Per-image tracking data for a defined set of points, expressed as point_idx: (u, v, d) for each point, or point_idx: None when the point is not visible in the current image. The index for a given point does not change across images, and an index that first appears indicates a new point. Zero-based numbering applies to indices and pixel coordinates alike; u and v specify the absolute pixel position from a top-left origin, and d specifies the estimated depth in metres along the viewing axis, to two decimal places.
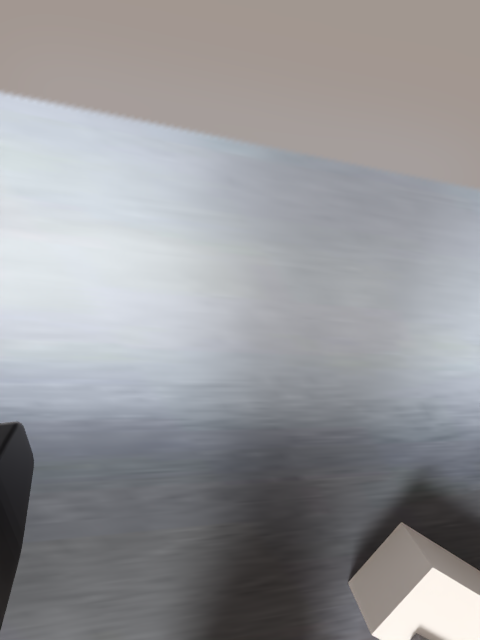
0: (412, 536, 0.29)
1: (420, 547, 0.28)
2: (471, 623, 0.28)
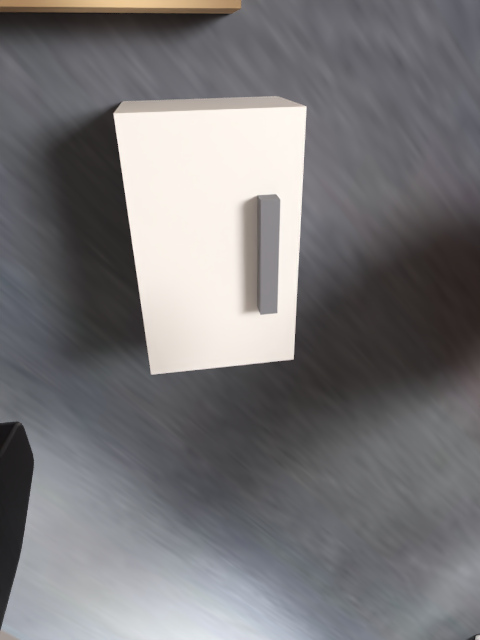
0: None
1: None
2: (189, 238, 0.15)
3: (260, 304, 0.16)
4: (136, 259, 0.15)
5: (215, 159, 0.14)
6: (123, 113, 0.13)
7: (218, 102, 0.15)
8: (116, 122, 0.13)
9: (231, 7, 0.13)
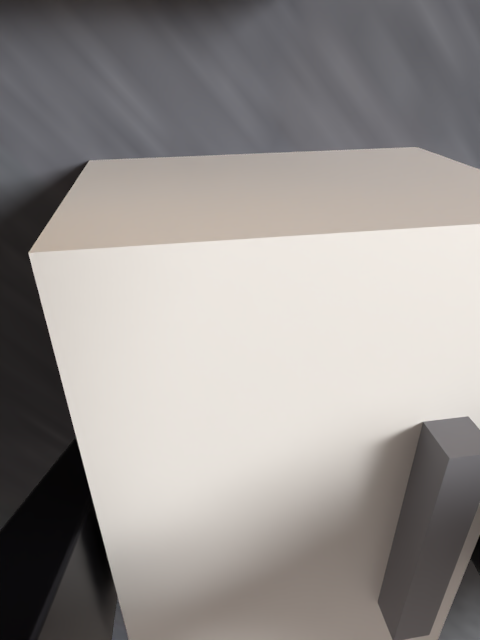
0: None
1: None
2: (243, 513, 0.06)
3: (396, 624, 0.07)
4: (113, 560, 0.06)
5: (330, 353, 0.05)
6: (62, 250, 0.04)
7: (316, 176, 0.06)
8: (40, 276, 0.04)
9: None
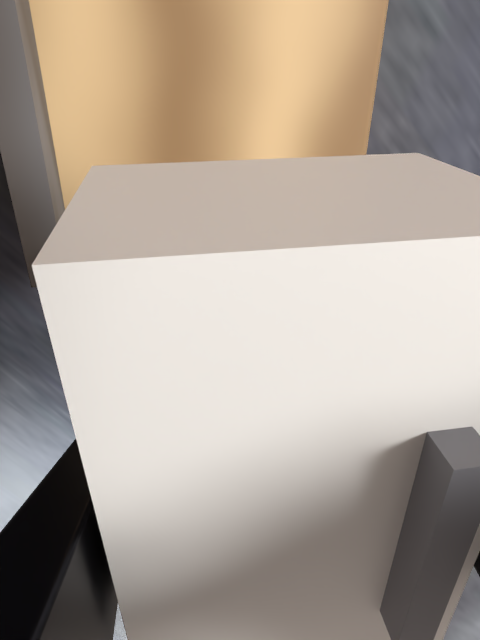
0: None
1: None
2: (246, 522, 0.06)
3: (398, 634, 0.07)
4: (114, 570, 0.06)
5: (334, 365, 0.05)
6: (66, 262, 0.04)
7: (320, 184, 0.06)
8: (44, 288, 0.04)
9: None
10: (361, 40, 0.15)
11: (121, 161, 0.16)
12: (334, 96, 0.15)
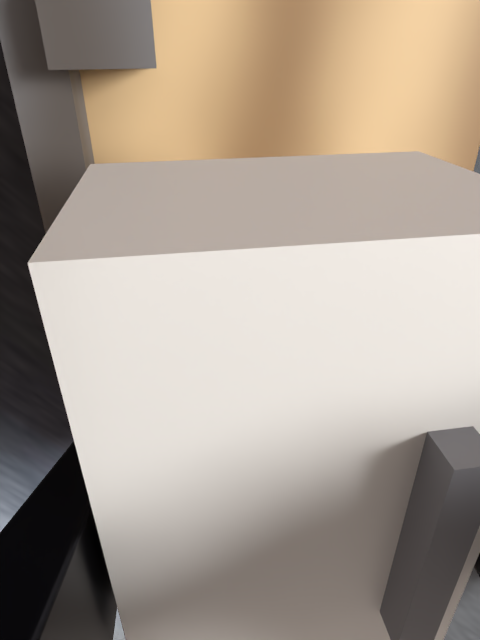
0: None
1: None
2: (245, 523, 0.06)
3: (399, 635, 0.07)
4: (112, 570, 0.06)
5: (334, 364, 0.05)
6: (62, 260, 0.04)
7: (319, 182, 0.06)
8: (40, 286, 0.04)
9: None
10: None
11: None
12: None
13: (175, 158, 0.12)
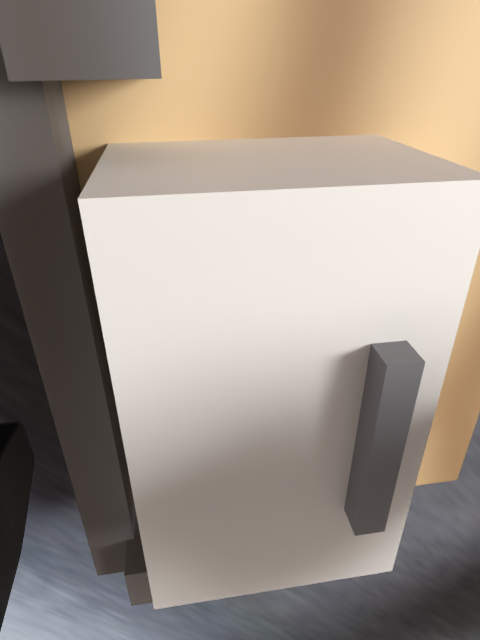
0: None
1: None
2: (232, 419, 0.08)
3: (356, 520, 0.09)
4: (129, 457, 0.08)
5: (296, 284, 0.07)
6: (101, 197, 0.06)
7: (290, 155, 0.08)
8: (85, 217, 0.06)
9: (449, 479, 0.16)
10: None
11: None
12: (459, 339, 0.13)
13: None
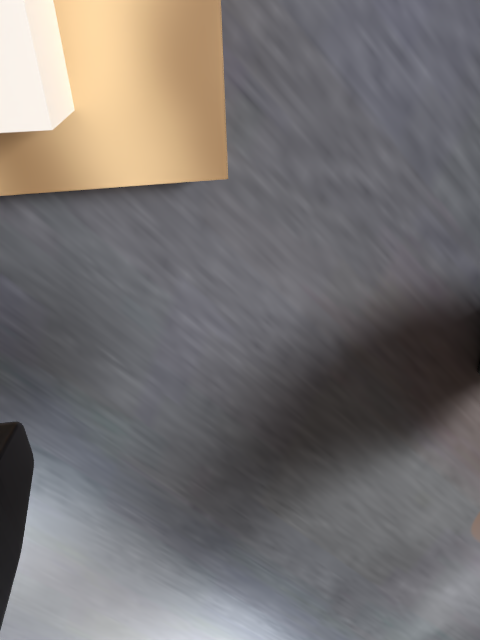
0: None
1: None
2: None
3: None
4: None
5: None
6: None
7: None
8: None
9: (219, 178, 0.16)
10: None
11: None
12: None
13: None
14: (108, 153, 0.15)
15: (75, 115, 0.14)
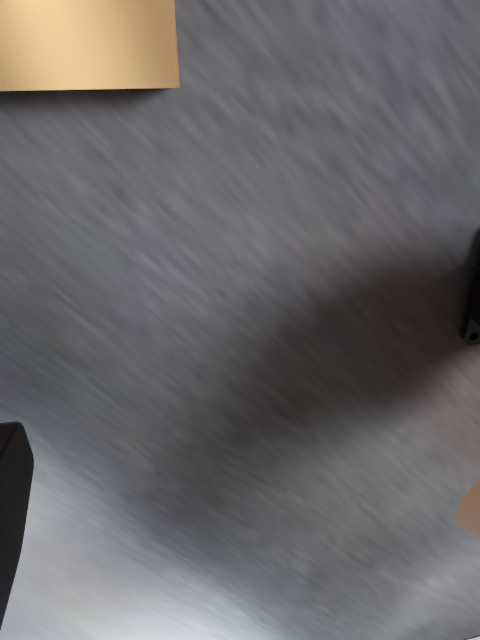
0: None
1: None
2: None
3: None
4: None
5: None
6: None
7: None
8: None
9: (171, 87, 0.15)
10: None
11: None
12: None
13: None
14: (46, 49, 0.14)
15: (8, 1, 0.13)
